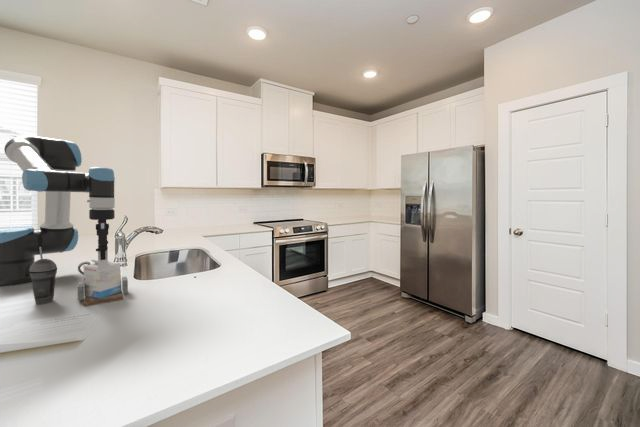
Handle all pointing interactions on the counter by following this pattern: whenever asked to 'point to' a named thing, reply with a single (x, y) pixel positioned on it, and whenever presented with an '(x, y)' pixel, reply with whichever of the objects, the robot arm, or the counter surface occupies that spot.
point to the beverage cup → (43, 279)
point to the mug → (81, 265)
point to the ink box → (102, 280)
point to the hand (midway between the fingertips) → (102, 264)
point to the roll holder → (105, 299)
